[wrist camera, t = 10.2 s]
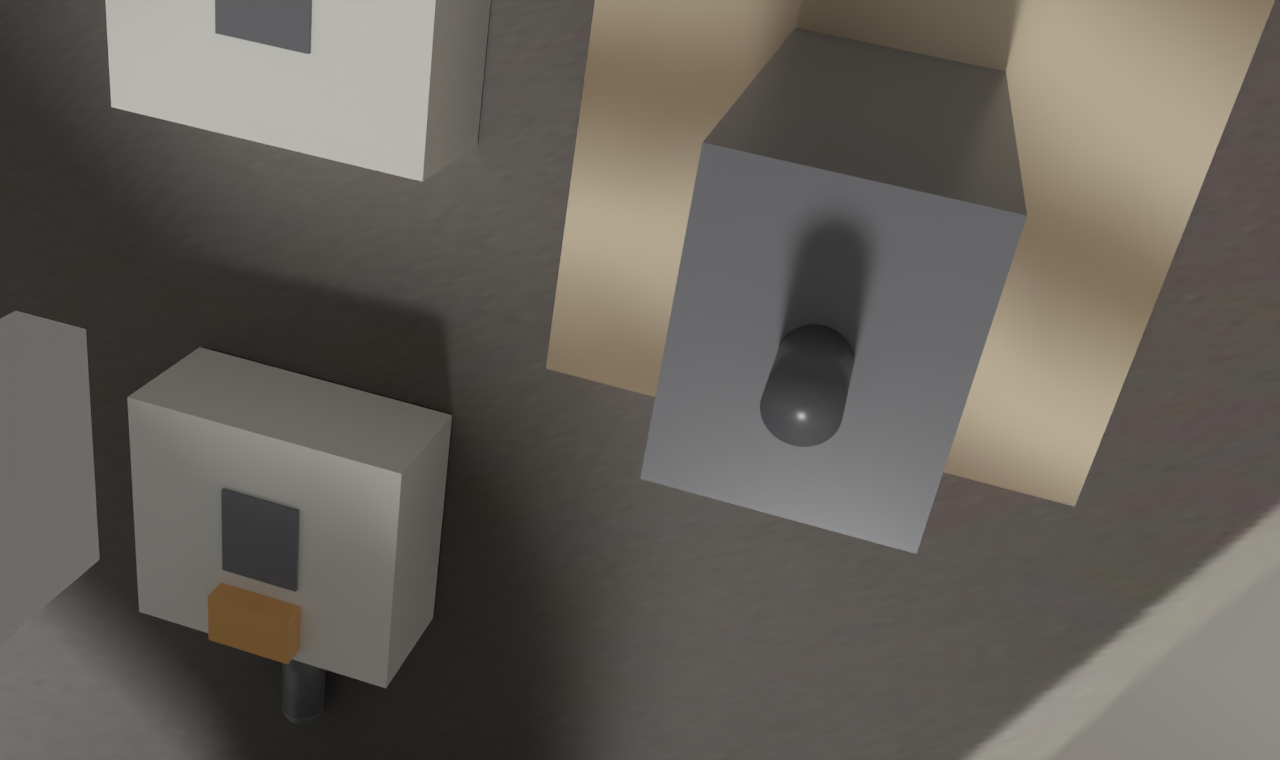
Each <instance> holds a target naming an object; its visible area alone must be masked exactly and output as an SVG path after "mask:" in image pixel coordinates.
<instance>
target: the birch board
mask: <svg viewBox="0 0 1280 760" xmlns="http://www.w3.org/2000/svg"><path fill="white" fill-rule="evenodd" d="M1274 2H1275V0H595V4H594V11H593V19H592V26H591V34H590V41H589V49H588V56H587V64H586V71H585V79H584V86H583V94H582V101H581V109H580V116H579V124H578V131H577V139H576V146H575V154H574V161H573V169H572V176H571V184H570V191H569V199H568V206H567V214H566V221H565V229H564V236H563V243H562V251H561V258H560V266H559V273H558V281H557V288H556V296H555V303H554V311H553V318H552V326H551V333H550V341H549V348H548V356H547V363H546V369H549V370H553V371H557V372H561V373H565V374H568V375H572V376H576V377H580V378H584V379H588V380H591V381H595V382H599V383H603V384H607V385H611V386H614V387H618V388H622V389H626V390H630V391H634V392H638V393H641V394H645V395H649V396H653V397H655V396H656V391H657V385H658V380H659V374H660V369H661V364H662V358H663V353H664V347H665V342H666V336H667V331H668V326H669V320H670V315H671V309H672V304H673V299H674V293H675V288H676V282H677V277H678V272H679V266H680V261H681V255H682V250H683V245H684V239H685V234H686V228H687V223H688V218H689V212H690V207H691V201H692V196H693V191H694V185H695V180H696V174H697V169H698V164H699V158H700V153H701V147H702V142H703V141H704V140H705V139H706V137H707V136H708V135H709V134H710V132H711V131H712V130H713V129H714V128H715V126H716V125H717V124H718V123H719V121H720V120H721V119H722V118H723V116H724V115H725V114H726V113H727V112H728V110H729V109H730V108H731V107H732V105H733V104H734V103H735V102H736V100H737V99H738V98H739V97H740V96H741V94H742V93H743V92H744V91H745V89H746V88H747V87H748V86H749V84H750V83H751V82H752V81H753V80H754V78H755V77H756V76H757V75H758V73H759V72H760V71H761V70H762V69H763V67H764V66H765V65H766V64H767V62H768V61H769V60H770V59H771V57H772V56H773V55H774V54H775V53H776V51H777V50H778V49H779V48H780V46H781V45H782V44H783V43H784V41H785V40H786V39H787V38H788V37H789V35H790V34H791V33H792V32H793V30H794V29H795V28H799V29H804V30H809V31H814V32H818V33H823V34H828V35H833V36H838V37H842V38H847V39H852V40H857V41H862V42H866V43H871V44H876V45H881V46H886V47H890V48H895V49H900V50H905V51H910V52H915V53H919V54H924V55H929V56H934V57H939V58H943V59H948V60H953V61H958V62H963V63H967V64H972V65H977V66H982V67H987V68H991V69H996V70H1001V71H1006V76H1007V83H1008V89H1009V96H1010V103H1011V110H1012V116H1013V123H1014V130H1015V137H1016V144H1017V150H1018V157H1019V164H1020V171H1021V177H1022V184H1023V191H1024V198H1025V204H1026V211H1027V218H1026V221H1025V224H1024V227H1023V230H1022V233H1021V236H1020V239H1019V242H1018V245H1017V248H1016V251H1015V254H1014V257H1013V260H1012V263H1011V266H1010V270H1009V273H1008V276H1007V279H1006V282H1005V285H1004V288H1003V291H1002V294H1001V297H1000V300H999V303H998V306H997V309H996V312H995V315H994V318H993V321H992V325H991V328H990V331H989V334H988V337H987V340H986V343H985V346H984V349H983V352H982V355H981V358H980V361H979V364H978V367H977V370H976V373H975V376H974V380H973V383H972V386H971V389H970V392H969V395H968V398H967V401H966V404H965V407H964V410H963V413H962V416H961V419H960V422H959V425H958V428H957V431H956V435H955V438H954V441H953V444H952V447H951V450H950V453H949V456H948V459H947V462H946V465H945V468H944V471H943V472H944V473H948V474H952V475H956V476H960V477H964V478H967V479H971V480H975V481H979V482H983V483H987V484H990V485H994V486H998V487H1002V488H1006V489H1010V490H1013V491H1017V492H1021V493H1025V494H1029V495H1033V496H1037V497H1040V498H1044V499H1048V500H1052V501H1056V502H1060V503H1063V504H1067V505H1071V506H1075V505H1076V502H1077V500H1078V497H1079V495H1080V492H1081V489H1082V487H1083V484H1084V482H1085V479H1086V477H1087V474H1088V472H1089V469H1090V467H1091V464H1092V462H1093V459H1094V457H1095V454H1096V452H1097V449H1098V447H1099V444H1100V441H1101V439H1102V436H1103V434H1104V431H1105V429H1106V426H1107V424H1108V421H1109V419H1110V416H1111V414H1112V411H1113V409H1114V406H1115V404H1116V401H1117V398H1118V396H1119V393H1120V391H1121V388H1122V386H1123V383H1124V381H1125V378H1126V376H1127V373H1128V371H1129V368H1130V366H1131V363H1132V361H1133V358H1134V355H1135V353H1136V350H1137V348H1138V345H1139V343H1140V340H1141V338H1142V335H1143V333H1144V330H1145V328H1146V325H1147V323H1148V320H1149V318H1150V315H1151V313H1152V310H1153V307H1154V305H1155V302H1156V300H1157V297H1158V295H1159V292H1160V290H1161V287H1162V285H1163V282H1164V280H1165V277H1166V275H1167V272H1168V270H1169V267H1170V264H1171V262H1172V259H1173V257H1174V254H1175V252H1176V249H1177V247H1178V244H1179V242H1180V239H1181V237H1182V234H1183V232H1184V229H1185V227H1186V224H1187V222H1188V219H1189V216H1190V214H1191V211H1192V209H1193V206H1194V204H1195V201H1196V199H1197V196H1198V194H1199V191H1200V189H1201V186H1202V184H1203V181H1204V179H1205V176H1206V173H1207V171H1208V168H1209V166H1210V163H1211V161H1212V158H1213V156H1214V153H1215V151H1216V148H1217V146H1218V143H1219V141H1220V138H1221V136H1222V133H1223V131H1224V128H1225V125H1226V123H1227V120H1228V118H1229V115H1230V113H1231V110H1232V108H1233V105H1234V103H1235V100H1236V98H1237V95H1238V93H1239V90H1240V88H1241V85H1242V82H1243V80H1244V77H1245V75H1246V72H1247V70H1248V67H1249V65H1250V62H1251V60H1252V57H1253V55H1254V52H1255V50H1256V47H1257V45H1258V42H1259V40H1260V37H1261V34H1262V32H1263V29H1264V27H1265V24H1266V22H1267V19H1268V17H1269V14H1270V12H1271V9H1272V7H1273V4H1274Z"/></svg>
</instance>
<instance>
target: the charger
mask: <svg viewBox="0 0 1280 760" xmlns="http://www.w3.org/2000/svg"><path fill="white" fill-rule="evenodd" d="M1026 218H1027V211H1026V204H1025V198H1024V191H1023V184H1022V177H1021V171H1020V164H1019V157H1018V150H1017V144H1016V137H1015V130H1014V123H1013V116H1012V110H1011V103H1010V96H1009V89H1008V83H1007V76H1006V71H1001V70H996V69H991V68H987V67H982V66H977V65H972V64H967V63H963V62H958V61H953V60H948V59H943V58H939V57H934V56H929V55H924V54H919V53H915V52H910V51H905V50H900V49H895V48H890V47H886V46H881V45H876V44H871V43H866V42H862V41H857V40H852V39H847V38H842V37H838V36H833V35H828V34H823V33H818V32H814V31H809V30H804V29H799V28H795V29H794V30H793V32H792V33H791V34H790V35H789V37H788V38H787V39H786V40H785V41H784V43H783V44H782V45H781V46H780V48H779V49H778V50H777V51H776V53H775V54H774V55H773V56H772V57H771V59H770V60H769V61H768V62H767V64H766V65H765V66H764V67H763V69H762V70H761V71H760V72H759V73H758V75H757V76H756V77H755V78H754V80H753V81H752V82H751V83H750V84H749V86H748V87H747V88H746V89H745V91H744V92H743V93H742V94H741V96H740V97H739V98H738V99H737V100H736V102H735V103H734V104H733V105H732V107H731V108H730V109H729V110H728V112H727V113H726V114H725V115H724V116H723V118H722V119H721V120H720V121H719V123H718V124H717V125H716V126H715V128H714V129H713V130H712V131H711V132H710V134H709V135H708V136H707V137H706V139H705V140H704V141H703V142H702V147H701V153H700V158H699V164H698V169H697V174H696V180H695V185H694V191H693V196H692V201H691V207H690V212H689V218H688V223H687V228H686V234H685V239H684V245H683V250H682V255H681V261H680V266H679V272H678V277H677V282H676V288H675V293H674V299H673V304H672V309H671V315H670V320H669V326H668V331H667V336H666V342H665V347H664V353H663V358H662V364H661V369H660V374H659V380H658V385H657V391H656V396H655V401H654V407H653V412H652V418H651V423H650V428H649V434H648V439H647V445H646V450H645V455H644V461H643V466H642V472H641V477H640V479H643V480H647V481H650V482H654V483H658V484H661V485H665V486H669V487H672V488H676V489H680V490H683V491H687V492H691V493H694V494H698V495H702V496H705V497H709V498H713V499H716V500H720V501H724V502H727V503H731V504H735V505H739V506H742V507H746V508H750V509H753V510H757V511H761V512H764V513H768V514H772V515H775V516H779V517H783V518H786V519H790V520H794V521H797V522H801V523H805V524H808V525H812V526H816V527H819V528H823V529H827V530H830V531H834V532H838V533H841V534H845V535H849V536H853V537H856V538H860V539H864V540H867V541H871V542H875V543H878V544H882V545H886V546H889V547H893V548H897V549H900V550H904V551H908V552H911V553H915V554H917V551H918V548H919V545H920V541H921V538H922V535H923V532H924V529H925V526H926V523H927V520H928V517H929V514H930V511H931V508H932V505H933V502H934V499H935V496H936V493H937V490H938V486H939V483H940V480H941V477H942V474H943V471H944V468H945V465H946V462H947V459H948V456H949V453H950V450H951V447H952V444H953V441H954V438H955V435H956V431H957V428H958V425H959V422H960V419H961V416H962V413H963V410H964V407H965V404H966V401H967V398H968V395H969V392H970V389H971V386H972V383H973V380H974V376H975V373H976V370H977V367H978V364H979V361H980V358H981V355H982V352H983V349H984V346H985V343H986V340H987V337H988V334H989V331H990V328H991V325H992V321H993V318H994V315H995V312H996V309H997V306H998V303H999V300H1000V297H1001V294H1002V291H1003V288H1004V285H1005V282H1006V279H1007V276H1008V273H1009V270H1010V266H1011V263H1012V260H1013V257H1014V254H1015V251H1016V248H1017V245H1018V242H1019V239H1020V236H1021V233H1022V230H1023V227H1024V224H1025V221H1026Z"/></svg>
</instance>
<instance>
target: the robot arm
mask: <svg viewBox="0 0 1280 760" xmlns="http://www.w3.org/2000/svg"><path fill="white" fill-rule="evenodd" d="M99 560H100V558H99V541H98V524H97V507H96V490H95V473H94V457H93V440H92V423H91V406H90V389H89V372H88V355H87V339H86V329H84V328H80V327H76V326H72V325H68V324H65V323H61V322H57V321H53V320H50V319H46V318H42V317H38V316H34V315H31V314H27V313H23V312H19V311H14V312H12V313H10V314H8V315H6V316H4V317H2V318H0V644H1V643H3V642H4V641H5V640H6V639H7V638H8V637H10V636H11V635H12V634H13V633H14V632H15V631H17V630H18V629H19V628H20V627H21V626H23V625H24V624H25V623H26V622H27V621H28V620H30V619H31V618H32V617H33V616H34V615H35V614H37V613H38V612H39V611H40V610H41V609H42V608H44V607H45V606H46V605H47V604H48V603H49V602H51V601H52V600H53V599H54V598H55V597H56V596H58V595H59V594H60V593H61V592H62V591H63V590H65V589H66V588H67V587H68V586H69V585H70V584H72V583H73V582H74V581H75V580H76V579H77V578H79V577H80V576H81V575H82V574H83V573H84V572H86V571H87V570H88V569H89V568H90V567H92V566H93V565H94V564H95V563H96V562H97V561H99Z"/></svg>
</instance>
